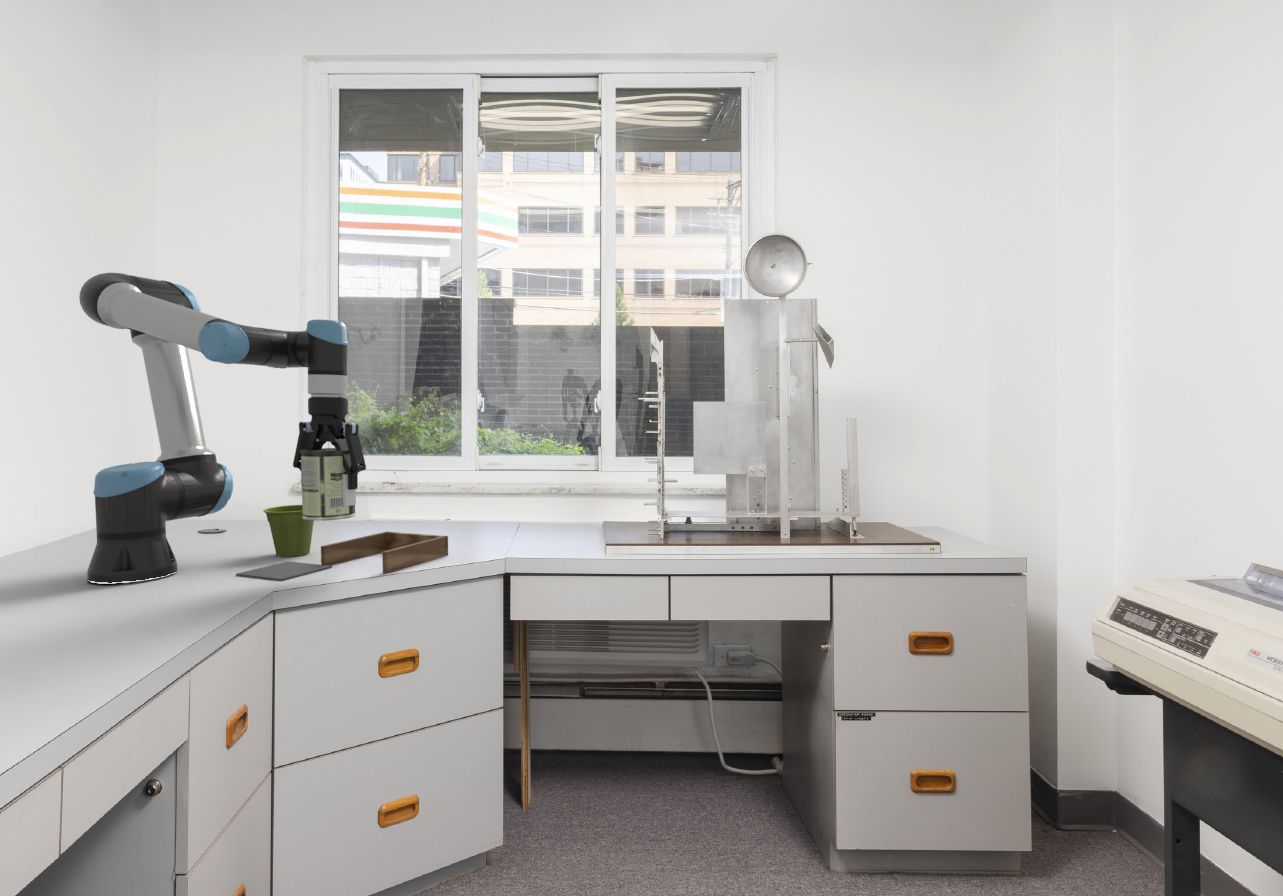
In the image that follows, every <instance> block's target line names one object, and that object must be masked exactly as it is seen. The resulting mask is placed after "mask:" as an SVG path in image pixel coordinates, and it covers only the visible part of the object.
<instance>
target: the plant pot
mask: <svg viewBox="0 0 1283 896" xmlns="http://www.w3.org/2000/svg"><path fill="white" fill-rule="evenodd" d="M262 511H263V512H264V513H265V514H266V520H267V522H268V524H269V528H270V533H271V535H272V541H273V546H274V551H275V555H276V556H278V557H281V558H295V557H297V556H300V555H301V556H305V555H308V554H309V553H310V552H311V544H312V537H313V530H314V524H315V521H313V520H304V519H302V516H303V513H302V504H289V505H287V504H286V505H281V506H280V505H279V506H272V507H268V508H265V509H263V510H262Z"/></svg>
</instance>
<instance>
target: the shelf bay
mask: <svg viewBox="0 0 1283 896" xmlns="http://www.w3.org/2000/svg"><path fill="white" fill-rule="evenodd" d="M380 553H381V555H382V574H390V573H392V572H396V571H399V570H403V569H406V568H409V567H410V568H411V567H413V566H416V565H420V564H423V563H425V562H429V561H433V560H436V559H440V558H442V557H446V556H448V555H449V536H447V535H437V534H424V533H423V534H421V533H411V532H399V531H382V532H378V533H373V534H369V535H364V536H361V537H356V538H352V539H347V540H343V541H338V542H333V543H329V544H325V545H324V544H323V545H320V565H329V566H334V565H338V564H341V563H345V562H346V563H347V562H349V561H354V560H357V559H361V558H364V557H369V556H372V555H376V554H380Z"/></svg>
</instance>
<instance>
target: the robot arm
mask: <svg viewBox="0 0 1283 896" xmlns="http://www.w3.org/2000/svg"><path fill="white" fill-rule="evenodd" d="M79 304H80V306H81V309H82V311H83V312H84V314H86V316H87V317H88V318H89V319H91V320H92V321H94V322H96V323H98V324H100V325H103V326H107V327H110V328H113V329H118V330H129V332H130V337H131V342H132V343H133V344H135V345H137V346H138V347H139V348H140V349H141V352H142V356H143V361H144V367H145V373H146V377H147V383H148V389H149V393H150V398H151V399H150V400H151V405H152V410H153V414H154V420H155V425H156V431H157V437H158V442H159V448H160V452H161V453H160V455H159V456H158V457H157V459H156V460H155V461H140V462H133V463H124V464H119V465H114V466H109V467H107V468H102V469H101V470H99V472H97V473H96V475H95V477H94V486H93V487H94V489H93V495H94V504H95V505H94V507H95V525H96V527H95V528H96V544H95V547H94V550H93V554H92V557H91V559H90V562H89V565H88V568H87V572H86V573H87V574H86V575H87V581H88V580H89V581H95V582H108V583H112V582H122V581H136V580H145V579H149V578H156V577H161V576H166V575H168V574H171V573H174V572H176V571H177V572H178V562H177V558H176V556H175V554H174V551H173V549H172V548H171V546H170V545H171V544H170V543H169V541H168V539H167V534H166V533H167V531H166V530H167V529H166V522H167V521H175V520H182V519H189V518H196V517H197V518H199V517H203V516H207V515H211V514H215V513H218V512H220V511H221V510H223V508H225V507H226V505H227V504H228V502H229V501H230V500H231V498H232V495H233V491H234V481H233V475H232V473H231V471H230V470H229V469H227V466H226V465H224V464H221V463H220V462H217V456H216V453H215V452H214V451H212V450H210V449H209V447H207V444H206V440H205V433H204V429H203V423H202V418H201V412H200V407H199V404H198V403H199V402H198V396H197V391H196V386H195V381H194V376H193V370H192V369H193V368H192V365H191V359H190V355H189V351H188V350H189V349H190V350H193V351H196V352H199V353H201V354H202V355H203V356H204V358H205V359H206V360H209V361H211V362H215V363H221V364H225V365H232V364H235V365H250V366H253V365H254V366H264V367H268V368H274V369H288V368H289V369H292V368H307V394H308V395H310V396H309V397H308V398H307V413H308V415H310V416H311V420H310V421H299V423H298V433H299V434H298V438H297V443H296V447H295V452H294V457H293V462H292V467H293V468H294V469H299V471H300V472H301V453H300V450H304V449H307V450H321V449H322V448H323V446H324V445H325V444H326V443H328V442H330V444H331V445H332V446H333V448H335V449H336V451H339V450H348V451H349V454H343V455H342V458H343V467H344V469H345V472H344V474H343V506H351V505H355V506H356V505H357V503H356V502H357V495H356V492H357V489H358V487H359V486H358V485H359V483H358V480H359V479H358V476H359V475H358V474H359V473H360V472H362V471H366V469H367V464H366V461H365V457H364V452H363V448H362V444H361V440H360V436H359V427H360V425H359V423H358V422H347V420H346V416H347V415H349V399H347V397H345V396H347V395H348V393H349V391H348V388H349V387H348V345H349V341H348V333H347V325H346V324H345V323H344V322H342V321H339V320H332V319H310V320H308V321H307V323H306V329H305V330H303V331H302V330H301V331H299V330H298V331H297V330H295V331H291V330H290V331H289V330H279V329H272V328H266V327H265V328H264V327H258V326H257V327H255V326H250V325H244V324H241V323H235V322H232V321H230V320H226V319H223V318H220V317H217V316H214V315H212V314H208V313H204V312H202V310H201V306H200V303H199V301H198V299H197V297H196V295H194V293H193V292H192V291H191V290H190V289H188V288H186V286H184V285H182V284H181V285H180V284H178V283H177V284H176V283H173V282H171V281H167V280H162V279H161V280H158V279H153V278H147V277H142V276H135V275H130V274H126V273H122V272H121V273H119V272H104V273H99V274H96V275H94V276H92V277H89V279H87V280H86V281H85V282H84V283H83V284H82V287H81V289H80V291H79ZM350 466H351V467H350ZM300 474H301V475H300V476H301V477H300V478H301V479H300V480H301V485H302V473H300ZM177 572H176V573H177Z"/></svg>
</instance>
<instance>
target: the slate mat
mask: <svg viewBox="0 0 1283 896" xmlns="http://www.w3.org/2000/svg"><path fill="white" fill-rule="evenodd" d="M332 568H333V565H331V566H329V565H321V564H318V563H307V562H298V561H297V562H296V561H288V560H287V561H283V562H280V563H279V562H278V563H276V564H271V565H270V564H269V565H267V566H262V567H258V568H253V569H250V570H245V571H241V572H237V573H235V576H238V577H245V578H254V579H263V580H272V581H278V582H283V581H287V580H291V579H295V578H298V577H301V576H305V575H309V574H313V573H317V572H321V571H324V570H329V569H332Z"/></svg>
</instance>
